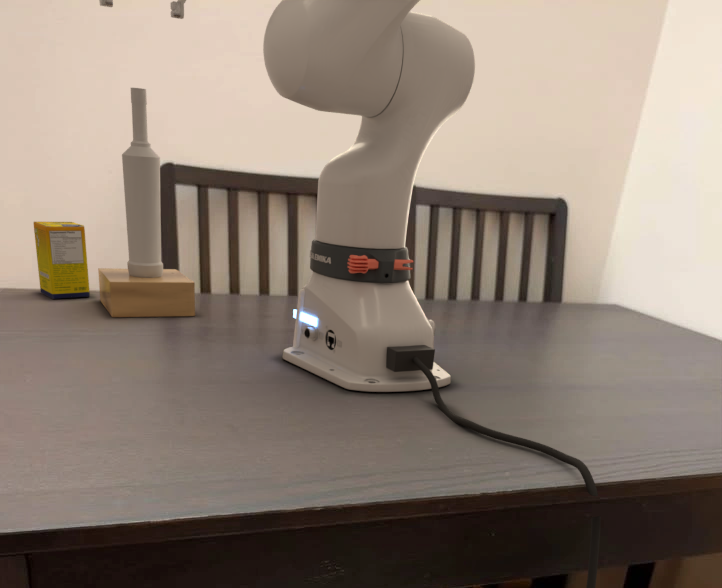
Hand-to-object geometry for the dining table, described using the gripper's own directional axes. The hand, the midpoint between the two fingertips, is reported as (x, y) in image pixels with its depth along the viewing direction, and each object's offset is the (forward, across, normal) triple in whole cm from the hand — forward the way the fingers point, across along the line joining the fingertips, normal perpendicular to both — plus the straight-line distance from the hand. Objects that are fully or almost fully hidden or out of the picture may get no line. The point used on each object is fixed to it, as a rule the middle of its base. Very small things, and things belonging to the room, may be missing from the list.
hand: (142, 12), depth 99 cm
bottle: (+35, -1, -3) cm, 35 cm away
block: (+39, -2, -3) cm, 40 cm away
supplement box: (+40, -12, +8) cm, 42 cm away
